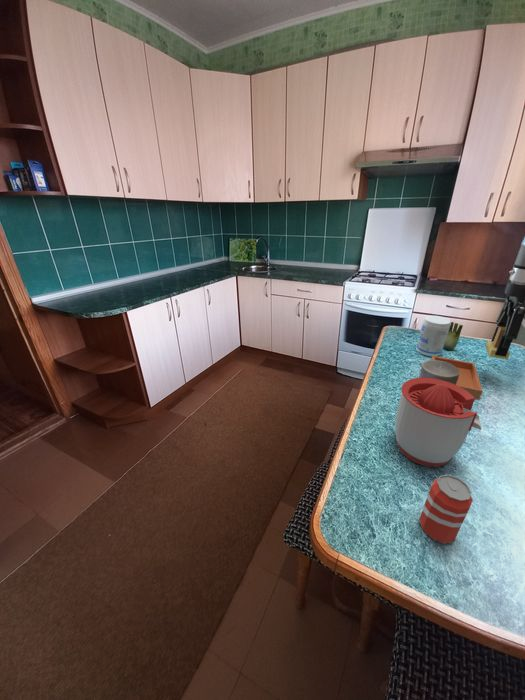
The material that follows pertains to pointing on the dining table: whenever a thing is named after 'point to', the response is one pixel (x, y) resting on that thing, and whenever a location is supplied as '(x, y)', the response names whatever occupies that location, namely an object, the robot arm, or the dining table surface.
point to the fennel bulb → (452, 336)
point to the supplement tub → (433, 335)
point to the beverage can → (445, 508)
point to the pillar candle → (439, 371)
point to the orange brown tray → (466, 376)
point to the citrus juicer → (433, 420)
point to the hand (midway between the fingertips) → (497, 349)
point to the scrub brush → (496, 344)
